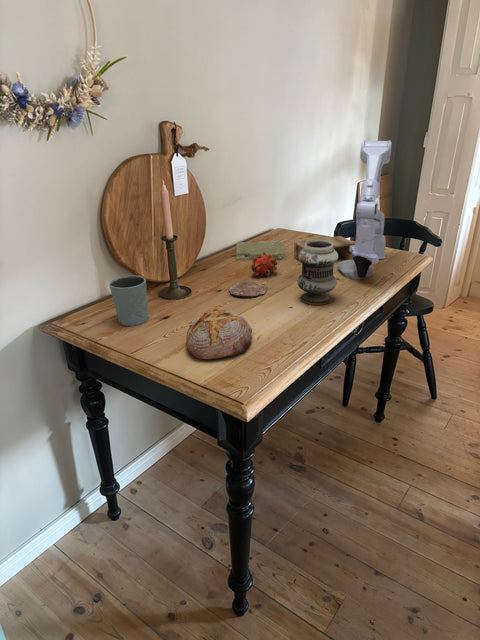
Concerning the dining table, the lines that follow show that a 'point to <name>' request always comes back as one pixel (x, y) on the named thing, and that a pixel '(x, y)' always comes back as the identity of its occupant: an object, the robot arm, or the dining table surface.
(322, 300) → the apothecary jar
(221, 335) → the bread
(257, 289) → the shell
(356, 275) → the stone block
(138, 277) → the teal cup
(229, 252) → the dining table surface
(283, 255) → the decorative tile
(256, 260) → the dragon fruit
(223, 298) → the dining table surface
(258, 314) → the dining table surface
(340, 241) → the oak shelf
